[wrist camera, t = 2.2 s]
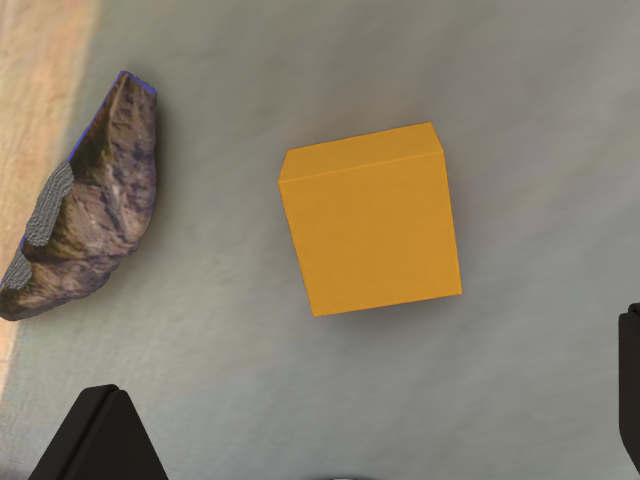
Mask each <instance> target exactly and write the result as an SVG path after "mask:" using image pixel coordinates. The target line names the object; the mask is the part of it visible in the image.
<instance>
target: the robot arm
mask: <svg viewBox="0 0 640 480" xmlns="http://www.w3.org/2000/svg"><path fill="white" fill-rule="evenodd" d="M619 430H620V435H621V438H622V441H623V444H624V446H625V448H626V450H627V452H628V454H629V456H630V458H631V460H632V461H633V463H634V465H635V467H636V469H637V471H638V472H639V474H640V303H634V304H631V305H630V306H629V309H628V313H623V314H620V316H619ZM28 480H169V479H168V477H167V475H166V473H165V471H164V469H163V467H162V464H161V462H160V460H159V458H158V456H157V454H156V452H155V450H154V448H153V445H152V443H151V441H150V439H149V437H148V435H147V433H146V431H145V428H144V426H143V424H142V422H141V420H140V418H139V416H138V414H137V412H136V409H135V407H134V405H133V403H132V401H131V399H130V397H129V395H128V393H127V392H126V391H125V390H120V389H119V388H118V387H117V386H116V385H114V384H109V385H103V386H96V387H90V388H86V389H84V390H83V391H82V392H81V393H80V395H79V396H78V398H77V400H76V401H75V403H74V405H73V406H72V408H71V409H70V411H69V413H68V414H67V416H66V418H65V419H64V421H63V423H62V424H61V426H60V428H59V429H58V431H57V433H56V434H55V436H54V438H53V439H52V441H51V443H50V444H49V446H48V448H47V449H46V451H45V453H44V454H43V456H42V458H41V459H40V461H39V462H38V464H37V466H36V467H35V469H34V471H33V472H32V474H31V476H30V477H29V479H28ZM335 480H351V479H335Z"/></svg>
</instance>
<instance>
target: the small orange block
mask: <svg viewBox="0 0 640 480" xmlns="http://www.w3.org/2000/svg"><path fill="white" fill-rule="evenodd" d="M278 187H279V191H280V194H281V198H282V202H283V205H284V209H285V213H286V217H287V220H288V224H289V228H290V231H291V235H292V239H293V242H294V246H295V250H296V254H297V257H298V261H299V265H300V268H301V272H302V276H303V279H304V283H305V287H306V290H307V294H308V298H309V302H310V305H311V309H312V313H313V316H314V317H318V316H324V315H331V314H337V313H344V312H350V311H356V310H363V309H369V308H376V307H382V306H388V305H395V304H401V303H408V302H414V301H420V300H427V299H433V298H440V297H446V296H452V295H459V294H462V293H463V292H462V284H461V277H460V269H459V261H458V254H457V246H456V238H455V231H454V223H453V215H452V208H451V200H450V193H449V185H448V177H447V170H446V162H445V154H444V150H443V148H442V145H441V143H440V141H439V138H438V136H437V134H436V131H435V129H434V127H433V124H432V122H426V123H421V124H416V125H411V126H406V127H401V128H396V129H391V130H386V131H381V132H376V133H371V134H366V135H361V136H356V137H351V138H346V139H341V140H336V141H331V142H326V143H320V144H315V145H310V146H305V147H300V148H295V149H290V150H287V153H286V156H285V159H284V163H283V166H282V169H281V173H280V176H279V179H278Z"/></svg>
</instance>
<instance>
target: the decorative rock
mask: <svg viewBox="0 0 640 480" xmlns="http://www.w3.org/2000/svg"><path fill="white" fill-rule="evenodd" d="M156 97H157V92H156V90H155V89H154V88H153V87H151V86H150V85H149V84H148V83H146V82H143V81H141V80H140V79H139V78H137V77H135V76H134V75H133V74H131V73H129V72H127V71H121V72H120V73H119V75H118V77H117V79H116V80H115V82H114V84H113V86H112V87H111V89H110V91H109V93H108V94H107V96H106V98H105V100H104V101H103V103H102V105H101V107H100V109H99V110H98V112H97V114H96V116H95V117H94V119H93V121H92V123H91V124H90V125H89V127H88V128H87V129H86V130H85V131H84V133H83V135H82V136H81V138H80V139H79V141H78V142H77V144H76V145H75V147H74V149H73V151H72V152H71V154H70V156H69V158H68V159H67V160H66V161H64V162H63V163H61V164H60V166H59V167H58V168H57V169H56V170H55V171H54V172H53V173H52V175H51V176H50V178H49V179H48V181H47V182H46V184H45V186H44V188H43V189H42V191H41V193H40V195H39V197H38V199H37V203H36V207H35V210H34V212H33V214H32V216H31V217H30V219H29V221H28V223H27V225H26V230H25V234H24V236H23V238H22V240H21V242H20V245H19V247H18V249H17V251H16V253H15V257H14V259H13V261H12V263H11V264H10V266H9V268H8V270H7V271H6V273H5V275H4V277H3V279H2V282H1V284H0V317H2V318H3V319H5V320H8V321H18V320H22V319H25V318H29V317H33V316H36V315H39V314H41V313H43V312H45V311H48V310H50V309H52V308H54V307H57V306H60V305H62V304H65V303H66V302H68V301H71V300H75V299H81V298H84V297H87V296H88V295H89V294H90V293H92V292H94V291H96V290H97V289H99V288H100V287H102V286H103V285H104V284H105V283H106V282H107V280H108V278H109V275H110V272H111V271H113V270H115V269H116V268H117V267H118V265H119V263H120V260H121V259H122V258H123V257H125V256H127V255H130V254H132V253H133V252H135V251H136V250H137V248H138V245H139V243H140V242H141V240H142V236H143V234H144V233H145V231H146V230H147V228H148V225H149V221H150V218H151V215H152V211H153V209H154V206H155V199H156V186H157V183H156V179H157V174H156V164H155V160H154V158H155V157H154V147H155V144H156V134H155V133H156V125H155V118H156V110H155V109H156Z"/></svg>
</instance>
